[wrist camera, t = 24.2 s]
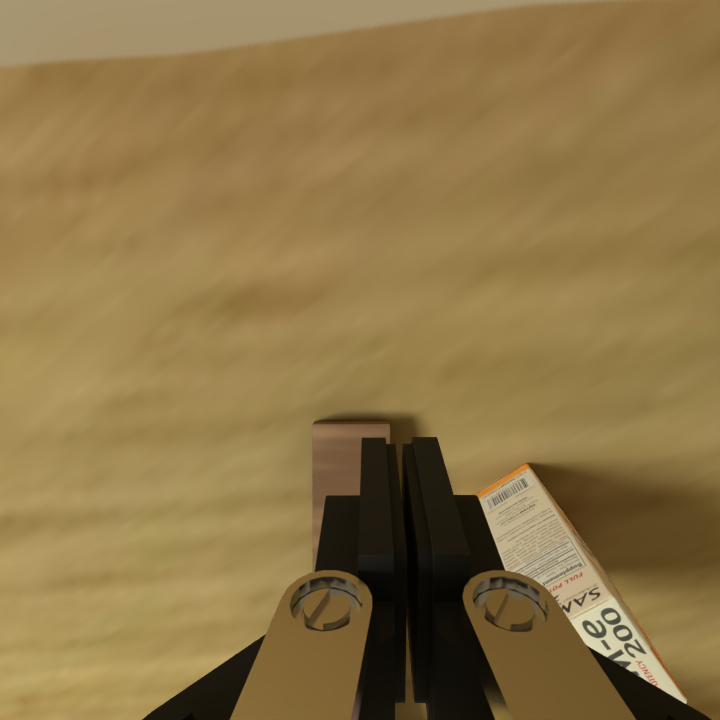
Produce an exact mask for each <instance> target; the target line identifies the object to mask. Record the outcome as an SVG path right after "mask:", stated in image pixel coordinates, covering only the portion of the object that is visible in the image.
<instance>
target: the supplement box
mask: <svg viewBox="0 0 720 720" xmlns="http://www.w3.org/2000/svg"><path fill="white" fill-rule="evenodd" d="M476 496H478V498H479V500H480V503H481V506H482V508H483V511H484V514H485V517H486V519H487V522H488V525H489V527H490V530H491V533H492V536H493V538H494V541H495V544H496V546H497V549H498V552H499V554H500V557H501V560H502V563H503V565H504V568H505V570H506V571H511V572H515V573H520V574H522V575H525V576H527V577H529V578H532V579H534V580H535V581H537V582H538V583H540V584H541V585H543V586H544V587H545V588H546V589H547V590H548V591H549V592H550V593H551V594H552V596H553V597H554V598H555V599H556V601H557V602H558V604H559V605H560V607H561V608H562V610H563V611H564V613H565V614H566V616H567V617H568V619H569V620H570V622H571V623H572V625H573V626H574V628H575V629H576V631H577V632H578V634H579V635H580V637H581V638H582V640H583V641H584V643H585V644H586V645H587V646H589V647H590V648H592V649H594V650H595V651H597V652H599V653H601V654H602V655H604V656H606V657H607V658H609V659H611V660H612V661H614V662H616V663H617V664H619V665H621V666H622V667H624V668H626V669H628V670H629V671H631V672H633V673H634V674H636V675H638V676H639V677H641V678H643V679H644V680H646V681H648V682H650V683H651V684H653V685H655V686H656V687H658V688H660V689H661V690H663V691H665V692H666V693H668V694H670V695H672V696H673V697H675V698H677V699H678V700H680V701H682V702H683V703H685V704H686V703H687V698H686V697H685V695H684V694H683V692H682V691H681V689H680V688H679V686H678V684H677V683H676V681H675V680H674V678H673V677H672V675H671V673H670V672H669V670H668V669H667V667H666V665H665V664H664V662H663V661H662V659H661V658H660V656H659V654H658V653H657V651H656V650H655V648H654V646H653V645H652V643H651V642H650V640H649V639H648V637H647V635H646V634H645V632H644V631H643V629H642V628H641V626H640V624H639V623H638V621H637V620H636V618H635V617H634V615H633V614H632V612H631V610H630V609H629V607H628V606H627V604H626V603H625V601H624V600H623V598H622V597H621V595H620V593H619V592H618V590H617V589H616V587H615V586H614V584H613V583H612V581H611V580H610V578H609V577H608V575H607V574H606V572H605V571H604V570H603V568H602V567H601V565H600V564H599V562H598V561H597V559H596V558H595V557H594V555H593V554H592V552H591V551H590V549H589V548H588V546H587V545H586V544H585V542H584V541H583V540H582V538H581V537H580V535H579V534H578V532H577V531H576V529H575V528H574V527H573V525H572V524H571V522H570V521H569V520H568V518H567V517H566V515H565V514H564V513H563V511H562V510H561V508H560V507H559V506H558V504H557V503H556V502H555V500H554V499H553V498H552V496H551V495H550V493H549V492H548V491H547V489H546V488H545V487H544V485H543V484H542V483H541V481H540V480H539V478H538V477H537V476H536V474H535V473H534V471H533V470H532V469H531V468H530V466H529V465H528V464H525V465H523V466H521V467H520V468H519V469H517V470H515V471H513V472H512V473H510V474H508V475H507V476H505V477H504V478H502V479H500V480H499V481H497V482H495V483H494V484H492V485H491V486H489V487H488V488H486V489H484V490H483V491H481V492H479V493H478V494H476Z"/></svg>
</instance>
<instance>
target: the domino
mask: <svg viewBox="0 0 720 720" xmlns="http://www.w3.org/2000/svg"><path fill="white" fill-rule="evenodd" d="M372 437H386V444H390V423H389V422H388V421H315V422H314V423H313V572H315V566H316V559H317V552H318V545H319V539H320V532H321V525H322V518H323V511H324V505H325V499H326V496H327V495H360V475H361V443H362V438H372Z"/></svg>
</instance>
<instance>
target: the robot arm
mask: <svg viewBox="0 0 720 720" xmlns="http://www.w3.org/2000/svg"><path fill="white" fill-rule="evenodd" d="M406 617H407V627H408V638H409V649H410V660H411V671H412V683H413V694H414V702H415V703H426V709H427V718H428V720H711V719H710V718H708V717H707V716H705V715H704V714H702V713H700V712H699V711H697V710H695V709H694V708H692V707H690V706H688V705H687V704H685V703H683V702H682V701H680V700H678V699H677V698H675V697H673V696H672V695H670V694H668V693H666V692H665V691H663V690H661V689H660V688H658V687H656V686H655V685H653V684H651V683H650V682H648V681H646V680H644V679H643V678H641V677H639V676H638V675H636V674H634V673H633V672H631V671H629V670H628V669H626V668H624V667H622V666H621V665H619V664H617V663H616V662H614V661H612V660H611V659H609V658H607V657H606V656H604V655H602V654H601V653H599V652H597V651H595V650H594V649H592V648H590V647H589V646H587V645H586V644H585V643H584V641H583V640H582V638H581V637H580V635H579V634H578V632H577V631H576V629H575V628H574V626H573V625H572V623H571V622H570V620H569V619H568V617H567V616H566V614H565V613H564V611H563V610H562V608H561V607H560V605H559V604H558V602H557V601H556V599H555V598H554V597H553V596H552V594H551V593H550V592H549V591H548V590H547V589H546V588H545V587H544V586H543V585H541V584H540V583H538V582H537V581H535V580H534V579H532V578H529V577H527V576H525V575H522V574H520V573H515V572H511V571H506V570H505V568H504V565H503V563H502V560H501V557H500V554H499V552H498V549H497V546H496V544H495V541H494V538H493V536H492V533H491V530H490V527H489V525H488V522H487V519H486V517H485V514H484V511H483V508H482V506H481V503H480V500H479V498H478V496H476V495H453V491H452V488H451V484H450V481H449V477H448V474H447V471H446V467H445V464H444V460H443V457H442V453H441V450H440V446H439V443H438V439H437V437H412V442H411V444H403V447H402V501H401V491H400V482H399V473H398V464H397V454H396V445H395V444H386V437H372V438H362V443H361V475H360V495H327V496H326V499H325V505H324V511H323V518H322V525H321V532H320V539H319V545H318V552H317V559H316V566H315V572H313V573H309V574H307V575H305V576H303V577H301V578H299V579H297V580H296V581H295V582H293V583H292V584H291V585H290V586H289V587H288V588H287V590H286V591H285V593H284V594H283V596H282V598H281V600H280V602H279V605H278V607H277V609H276V612H275V614H274V616H273V619H272V621H271V624H270V626H269V628H268V631H267V633H266V634H265V635H264V636H262V637H261V638H260V639H258V640H257V641H255V642H254V643H252V644H251V645H249V646H248V647H246V648H245V649H243V650H242V651H240V652H239V653H237V654H236V655H235V656H233V657H232V658H230V659H229V660H227V661H226V662H224V663H223V664H221V665H220V666H218V667H217V668H215V669H214V670H213V671H211V672H210V673H208V674H207V675H205V676H204V677H202V678H201V679H199V680H198V681H196V682H195V683H193V684H192V685H190V686H189V687H188V688H186V689H185V690H183V691H182V692H180V693H179V694H177V695H176V696H174V697H173V698H171V699H170V700H168V701H167V702H166V703H164V704H163V705H161V706H160V707H158V708H157V709H155V710H154V711H152V712H151V713H150V714H148V715H147V716H146V717H145V718H144V719H143V720H395V703H405V674H406Z"/></svg>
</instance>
